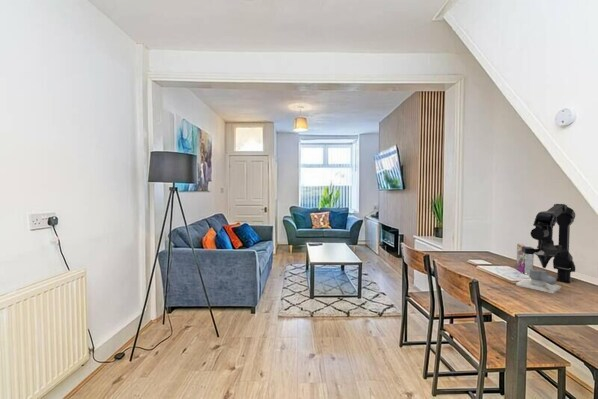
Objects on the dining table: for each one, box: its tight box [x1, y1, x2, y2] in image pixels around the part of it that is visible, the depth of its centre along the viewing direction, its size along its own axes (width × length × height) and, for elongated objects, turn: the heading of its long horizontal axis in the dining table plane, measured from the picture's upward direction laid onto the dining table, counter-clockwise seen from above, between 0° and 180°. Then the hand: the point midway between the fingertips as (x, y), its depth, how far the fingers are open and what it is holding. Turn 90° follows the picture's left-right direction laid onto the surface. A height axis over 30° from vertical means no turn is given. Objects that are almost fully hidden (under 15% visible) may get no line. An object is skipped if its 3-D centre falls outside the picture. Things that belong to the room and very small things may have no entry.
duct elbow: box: [528, 268, 557, 285], centre depth 170 cm, size 15×8×4 cm, turn 173°
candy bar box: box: [515, 243, 535, 275], centre depth 202 cm, size 11×5×16 cm, turn 168°
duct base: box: [515, 278, 562, 294], centre depth 174 cm, size 13×16×4 cm
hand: (544, 267), depth 168 cm, fingers closed
